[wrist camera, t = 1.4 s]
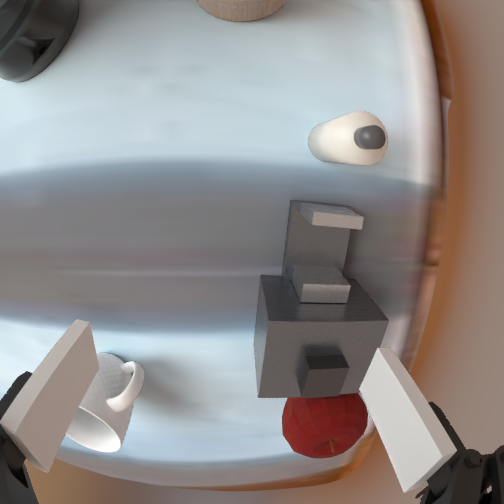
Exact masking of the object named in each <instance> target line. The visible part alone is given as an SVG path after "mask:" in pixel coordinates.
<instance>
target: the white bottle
mask: <svg viewBox="0 0 504 504" xmlns="http://www.w3.org/2000/svg"><path fill="white" fill-rule="evenodd" d="M308 146H309V149H310V151H311V153H312V154H313V155H314V156H315V157H316V158H317V159H319V160H321V161H324V162H334V163H345V164H354V165H363V166H368V165H372V164H375V163H377V162H378V161H380V160H381V159H382V157H383V156H384V154H385V152H386V150H387V146H388V136H387V132H386V129H385V127H384V125H383V124H382V122H381V121H380V120H379V119H378V118H377V117H376V116H374V115H373V114H371V113H368V112H364V111H357V112H353V113H350V114H347V115H344V116H341V117H338V118H335V119H333V120H330V121H327V122H324V123H322V124H319V125H317V126H315V127H314V128H313V129H312V130H311V132H310V134H309V137H308Z"/></svg>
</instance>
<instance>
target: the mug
mask: <svg viewBox="0 0 504 504" xmlns="http://www.w3.org/2000/svg"><path fill="white" fill-rule="evenodd" d="M96 355H97V359H98V363H99V367H100V368H99V370H98V372H97V374H96V375H95V377H94V379H93V381H92V383H91V385H90V387H89V388H88V390H87V392H86V394H85V396H84V398H83V400H82V402H81V404H80V406H79V408H78V410H77V412H76V414H75V416H74V418H73V420H72V422H71V424H70V426H69V428H68V430H67V432H66V435H67V436H68V437H70V438H71V439H73V440H74V441H76V442H77V443H79V444H81V445H83V446H85V447H88V448H90V449H93V450H96V451H101V452H115V451H118V450H119V449H120V448H121V446H122V443H123V440H124V437H125V435H126V431H127V428H128V425H129V422H130V418H131V415H132V409H133V403H134V400H135V399H136V397H137V396H138V394H139V392H140V390H141V388H142V386H143V383H144V376H145V375H144V370H143V368H142V367H141V366H140V365H139V364H138V363H137V362H135V361H130V362H126V363H124V362H123V361H122V360H121V359H120V358H118V357H116V356H114V355H112V354H109V353H96ZM132 372H134V373H133V376H132V374H131V373H132Z"/></svg>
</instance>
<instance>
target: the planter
mask: <svg viewBox="0 0 504 504" xmlns="http://www.w3.org/2000/svg"><path fill="white" fill-rule="evenodd" d="M197 1H198V3H199V4H200V6H201V7H202V8H203V9H204V10H205V11H206V12H208V13H209V14H211V15H213V16H215V17H218V18H221V19H224V20H229V21H253V20H258V19H261V18H264V17H267V16H269V15H271V14H273V13H275V12H276V11H277V10H279V9H280V8H281V7H282V6H283V4H284V3H285V1H286V0H197Z"/></svg>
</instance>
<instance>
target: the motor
mask: <svg viewBox="0 0 504 504" xmlns="http://www.w3.org/2000/svg"><path fill="white" fill-rule="evenodd" d="M353 211H354V208H352V207H350V206H344V205H335V204H326V203H317V202H307V201H297V200H290V209H289V218H288V227H287V236H286V244H285V253H284V261H283V269H282V276H265V275H261V276H260V286H259V296H258V306H257V316H256V326H255V336H254V354H255V366H256V378H257V390H258V398H285V397H301V398H317V397H331V396H339V394H349V393H358V392H360V390H359V388H360V386H361V384H362V382H363V380H364V377H365V375H366V373H367V371H368V369H369V366H370V364H371V362H372V359H373V357H374V355H375V352H376V350H377V348H380V345H381V342H382V339H383V337H384V334H385V331H386V328H387V325H388V322H389V320H388V319H387V317H386V316H385V315H384V314H383V312H382V311H381V310H380V309H379V308H378V306H377V305H376V304H375V303H374V302H373V300H372V299H371V298H370V297H369V296H368V294H367V293H366V292H365V291H364V290H363V289H362V287H361V286H360V285H359V284H358V283H357V282H356V280H355V279H345V278H344V276H343V275H342V274H343V269H344V264H345V259H346V253H347V248H348V242H349V236H350V230H351V229H361V230H362V225H363V219H364V217H363V216H361V215H359V214H357V213H355V212H353Z"/></svg>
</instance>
